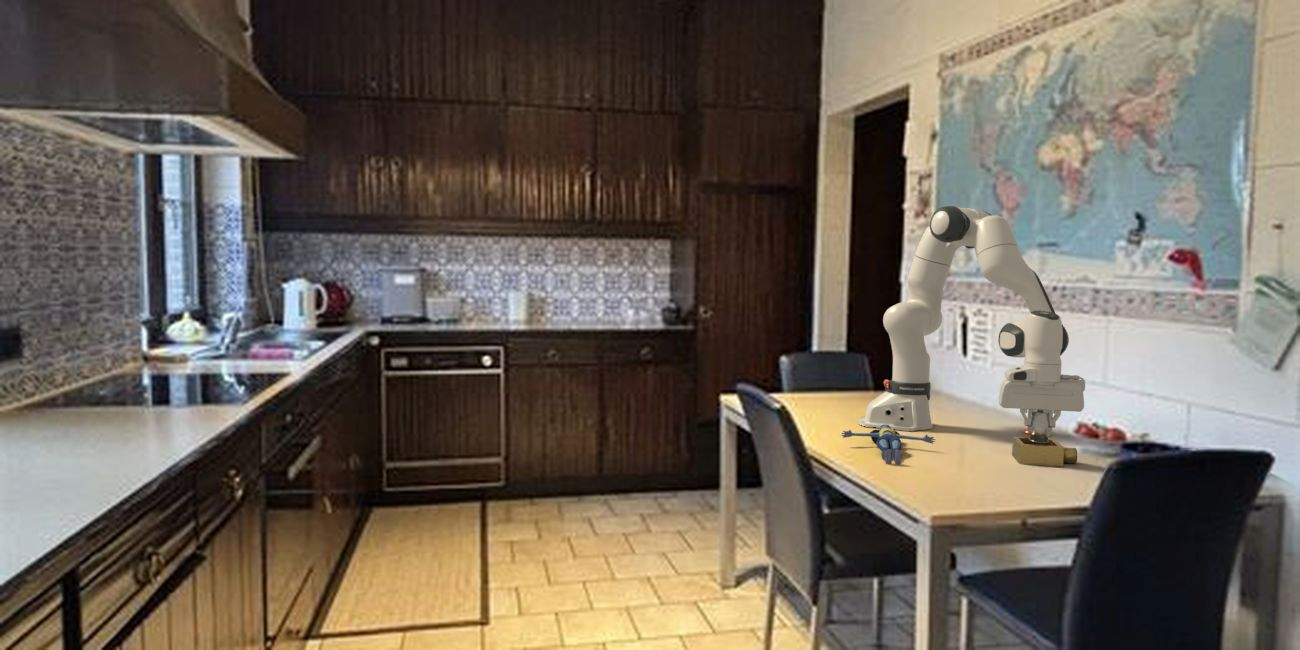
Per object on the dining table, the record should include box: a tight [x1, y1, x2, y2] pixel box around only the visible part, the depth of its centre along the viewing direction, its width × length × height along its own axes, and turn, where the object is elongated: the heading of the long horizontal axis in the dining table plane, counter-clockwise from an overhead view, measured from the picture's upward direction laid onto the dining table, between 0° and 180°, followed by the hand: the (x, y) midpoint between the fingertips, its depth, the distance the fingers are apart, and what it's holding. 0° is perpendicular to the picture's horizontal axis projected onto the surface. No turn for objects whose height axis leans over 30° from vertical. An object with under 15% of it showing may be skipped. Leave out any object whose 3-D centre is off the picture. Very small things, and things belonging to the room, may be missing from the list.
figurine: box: [840, 425, 936, 466], centre depth 232 cm, size 22×26×5 cm
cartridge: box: [1029, 410, 1050, 444], centre depth 223 cm, size 5×5×9 cm
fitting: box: [1011, 428, 1078, 468], centre depth 226 cm, size 14×15×6 cm
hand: (1039, 426), depth 223 cm, fingers closed on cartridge, 4 cm apart
